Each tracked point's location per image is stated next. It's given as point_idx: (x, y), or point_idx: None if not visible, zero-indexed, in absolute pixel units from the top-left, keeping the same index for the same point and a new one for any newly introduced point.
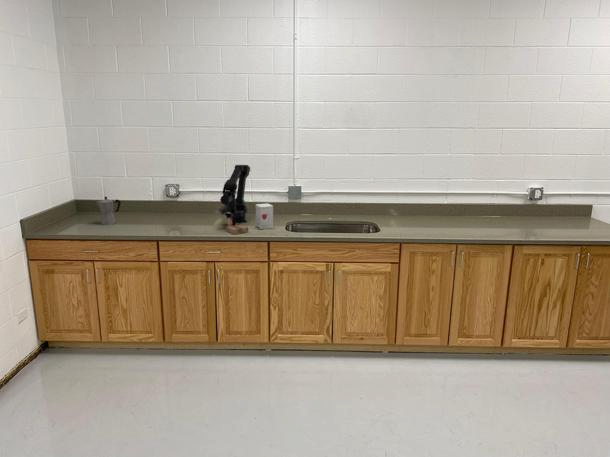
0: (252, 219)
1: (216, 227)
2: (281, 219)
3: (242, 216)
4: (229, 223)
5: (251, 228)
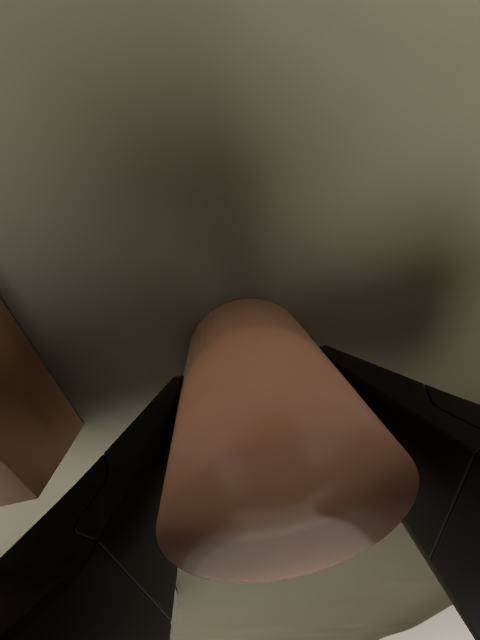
0: (406, 538)
1: (347, 56)
2: (292, 630)
3: (432, 564)
4: (204, 352)
5: None
